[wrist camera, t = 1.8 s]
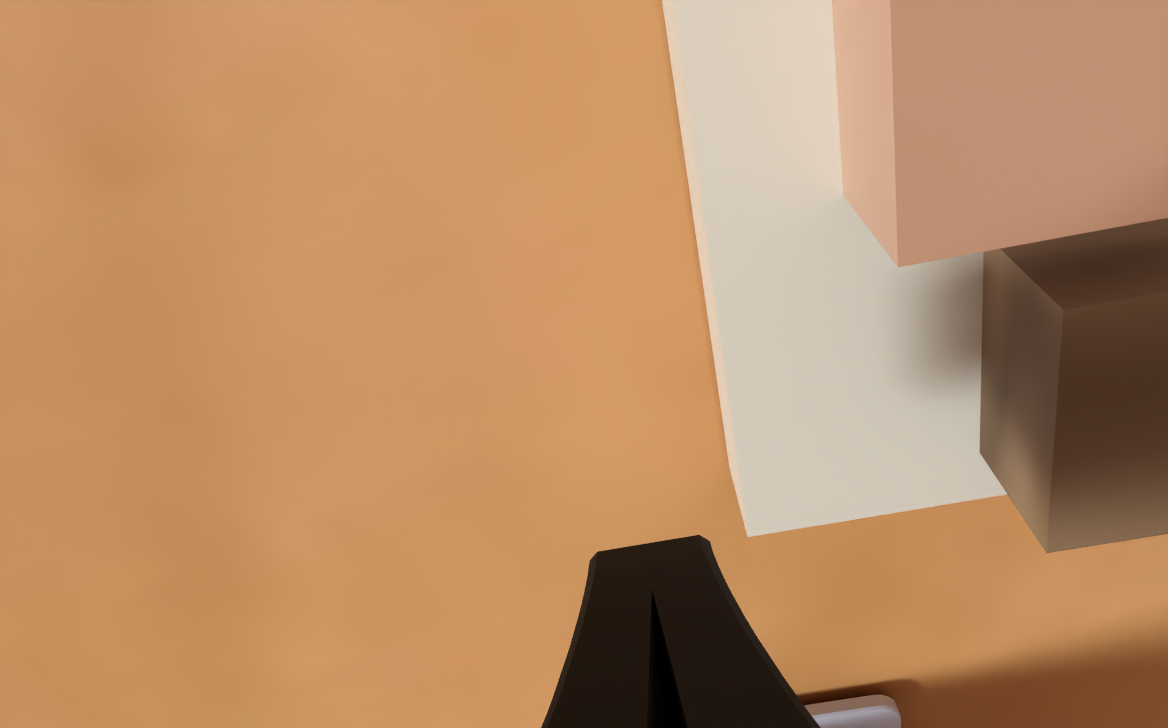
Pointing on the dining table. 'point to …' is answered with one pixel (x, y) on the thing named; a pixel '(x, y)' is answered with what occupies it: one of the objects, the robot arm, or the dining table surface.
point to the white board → (815, 288)
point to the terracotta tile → (1000, 120)
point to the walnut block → (1079, 383)
